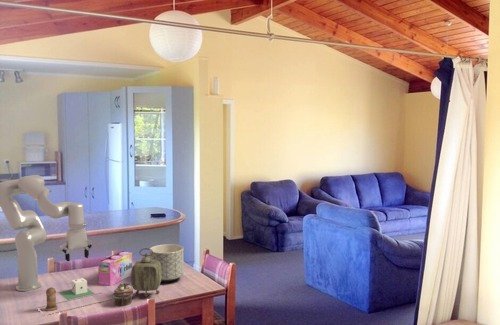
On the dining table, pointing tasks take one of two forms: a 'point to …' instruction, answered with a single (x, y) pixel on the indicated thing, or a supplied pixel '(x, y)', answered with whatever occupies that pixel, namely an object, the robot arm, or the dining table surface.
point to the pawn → (51, 299)
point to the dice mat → (71, 295)
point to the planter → (169, 260)
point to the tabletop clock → (146, 274)
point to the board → (77, 307)
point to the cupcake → (123, 295)
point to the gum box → (115, 268)
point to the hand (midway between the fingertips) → (77, 259)
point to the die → (79, 286)
